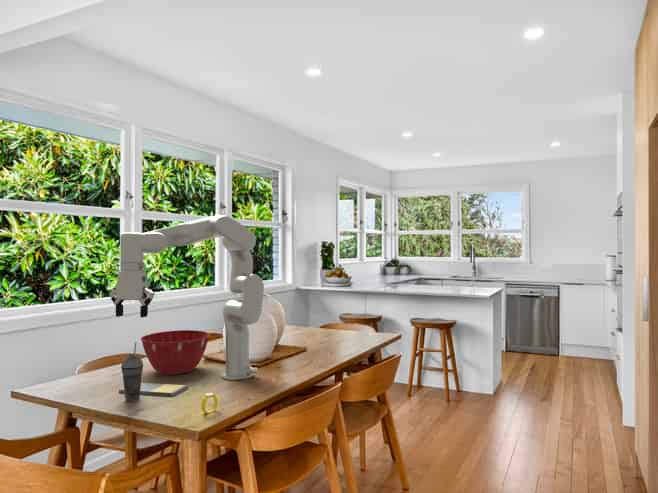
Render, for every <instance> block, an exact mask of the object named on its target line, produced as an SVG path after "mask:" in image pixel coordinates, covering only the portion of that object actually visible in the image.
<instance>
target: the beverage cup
mask: <svg viewBox="0 0 658 493" xmlns="http://www.w3.org/2000/svg"><path fill="white" fill-rule="evenodd" d="M136 349H137V341H135V342H134V348H133V354H131V355H128V356H126V357H125V358H124V359H123V360H122V363H121V366H120V368H121V374H122V379H123V380H122V381H123V388H124V392H125V393H124V398H125V402H128V403H133V402H137V401H139V400H140V397H141V394H140V389H141V383H142V374H143V370H144V362H143V359H142V358H141V356H139V355H136Z"/></svg>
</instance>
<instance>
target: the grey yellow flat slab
mask: <svg viewBox="0 0 658 493" xmlns="http://www.w3.org/2000/svg"><path fill="white" fill-rule="evenodd" d="M185 390H188V385H185V384H169V383H167V384H166V383H153V382H152V383H147V382H141V389H140V395H144V396H146V395H147V396H161V397H174V396H176V395H178V394H181V393H182V392H184V391H185ZM118 394H125V392H124V387H122V388H120V389H119V388H118Z"/></svg>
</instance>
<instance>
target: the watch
mask: <svg viewBox="0 0 658 493" xmlns="http://www.w3.org/2000/svg"><path fill="white" fill-rule="evenodd" d="M209 398H212V399H213V405H212V408H211V410H208V411H207V409H206V402H207V400H208V399H209ZM218 403H219V401H218V398H217V396H216V395H215V393H214V392H206V393H205V394H204V397H203V398H202V402H201V405H200V406H201V410H202V413H204V414H207V415H208V414H211V413H214V412H215V411H216V409H217V408H218Z"/></svg>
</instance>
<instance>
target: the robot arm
mask: <svg viewBox="0 0 658 493" xmlns="http://www.w3.org/2000/svg"><path fill="white" fill-rule="evenodd" d="M215 238H222V239H221V242H222V245H223V247H224V249H226V250H227V252H228V253H229V255H230V257H231V260H232V264H231V273H230V280H229V290H230V292H231V294H233V295H234V296H237V297H241V299H240V298H239V299H238V298H236V299H231V300H228V301H227V302H226V303H225V304H224V306H223V310H222V315H223V316H222V317H223V322H224V330H225V332H224V333H225V372H223V373H221V378H222V379H224V380H230V381H232V380H233V381H237V380H240V381H241V380H247V379H250V378H252V377H254V376H253V375H254V374H257V375H258V373H259V368H258V367H252V363H250V333H249V327H248V325H251V326H252V325H254V324H256V323H257V322H258V321H259V319H260V318H261V315H262V309H263V299H264V294H265V292H264V291H265V290H264V289H265V285H264V282H263V279H262V277H260V275H257V274H255V273H253V271H254V260H253V259H254V258H253V255H252V253H251V250H252V249H253V248H254V247H255V246H256V244H257V239H256V235H255V233H254V232H253V231H252V230H250V228H247V227H246V226H244V225H243V224H241V223H240V222H238V221H237V220H235V219H234V218H232V217H230V216H228V215H223V214H222V215H221V214H220V215H213V216H208V217H203V218H199V219H196V220H195V219H194V220H192V221H187V222H183V223H179V224H175V225H172V226H169V227H164V228H158V229H154V230H151V231H148V232H147V231H146V232H143V233H141V232H133V231H132V232H131V231H129V232H122V233H121V234H120V239H119V240H120V242H119V243H120V244H119V245H120V247H119V248H120V255H119V257H120V260H119V262H120V265H119V266H120V267H119V270H120V271H118V275H117V279H116V288H115V289H113V290H111V291H109V292H108V293H109V296H110V300H111V301H112V302H113V305H114V306H115V317H123V316H124V304H123V303H124V301H139V303H140V304H141V305H140V312H139V313H140V314H139V316H140V318H145V317H148V314H149V305H150V304H151V302H152V301H153V299H154V297H155V294H156V293H155V292H154V291H152V290H151V289H149V285H148V284H149V282H148V276H147V273H146V271H144V269H146V268H147V265H146V264H145V263H144V254H161V253H162V252H164V251H165V250H166V249H167V248H171V247H181V246H182V247H183V246H189V245H193V244H198V243H200V242H205V241H207V240H211V239H215Z"/></svg>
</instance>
